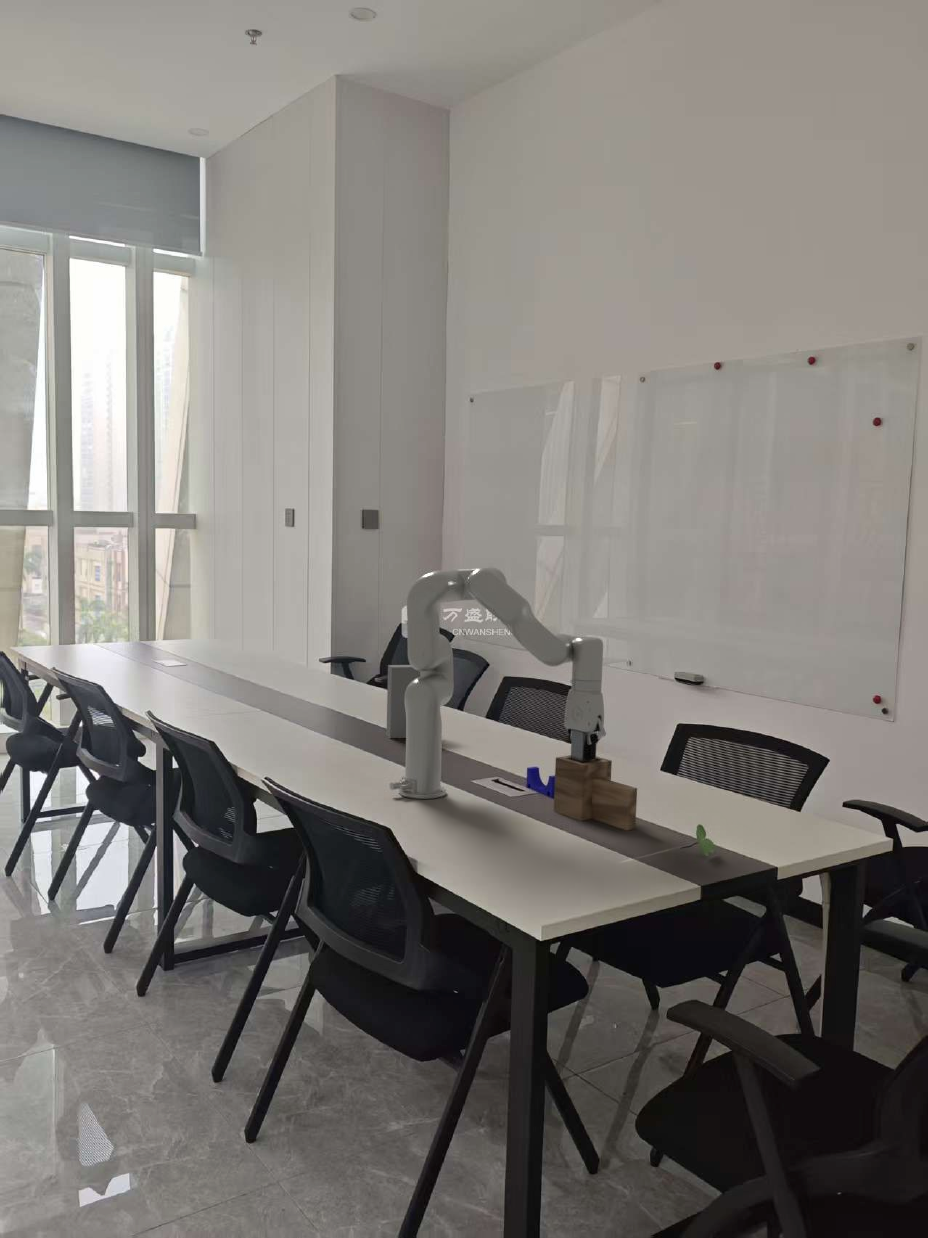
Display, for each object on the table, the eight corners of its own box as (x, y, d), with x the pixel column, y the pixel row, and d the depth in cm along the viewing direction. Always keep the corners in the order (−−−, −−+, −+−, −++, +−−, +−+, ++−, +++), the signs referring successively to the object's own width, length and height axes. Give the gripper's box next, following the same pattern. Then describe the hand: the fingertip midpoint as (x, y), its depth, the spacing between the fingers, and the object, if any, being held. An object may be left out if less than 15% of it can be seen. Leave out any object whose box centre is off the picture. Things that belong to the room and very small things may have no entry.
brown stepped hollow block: (616, 832, 246) (619, 775, 245) (553, 811, 263) (555, 757, 262) (645, 826, 252) (647, 770, 251) (581, 805, 269) (583, 753, 268)
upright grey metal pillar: (581, 772, 258) (583, 730, 257) (569, 768, 261) (570, 726, 260) (596, 769, 261) (598, 727, 260) (584, 766, 265) (586, 724, 264)
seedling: (693, 870, 234) (718, 860, 231) (673, 857, 230) (698, 846, 227) (689, 843, 239) (713, 833, 236) (669, 829, 235) (693, 818, 232)
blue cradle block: (564, 797, 278) (565, 775, 277) (551, 799, 276) (552, 777, 275) (539, 787, 288) (540, 766, 288) (526, 788, 286) (527, 767, 285)
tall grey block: (424, 736, 352) (426, 664, 349) (429, 740, 346) (431, 666, 344) (385, 738, 347) (386, 664, 345) (389, 741, 341) (391, 667, 339)
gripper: (552, 682, 263) (549, 752, 265) (599, 692, 250) (596, 765, 252) (573, 680, 268) (570, 749, 270) (621, 689, 255) (617, 762, 257)
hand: (583, 756), depth 261 cm, fingers closed on upright grey metal pillar, 4 cm apart
